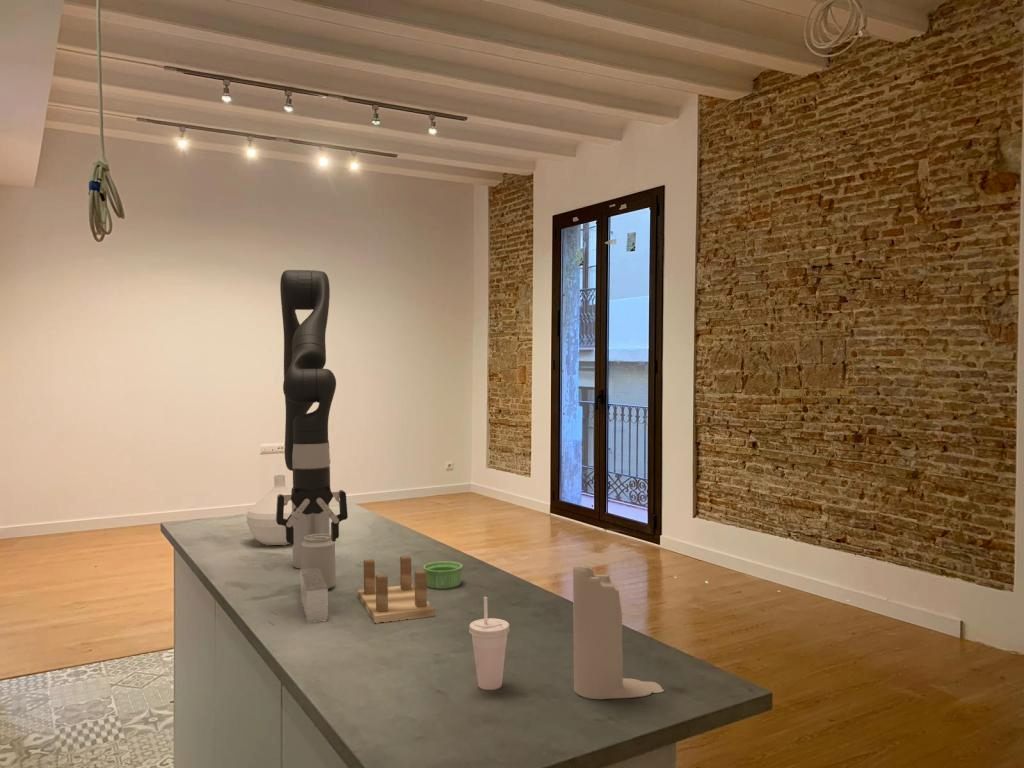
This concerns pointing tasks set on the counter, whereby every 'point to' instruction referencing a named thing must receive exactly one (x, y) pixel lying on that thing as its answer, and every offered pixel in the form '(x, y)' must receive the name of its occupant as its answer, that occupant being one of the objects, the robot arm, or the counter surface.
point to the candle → (600, 640)
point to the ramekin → (443, 574)
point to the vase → (270, 515)
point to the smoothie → (489, 649)
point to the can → (320, 556)
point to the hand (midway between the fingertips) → (312, 542)
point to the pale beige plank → (314, 594)
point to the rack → (395, 594)
